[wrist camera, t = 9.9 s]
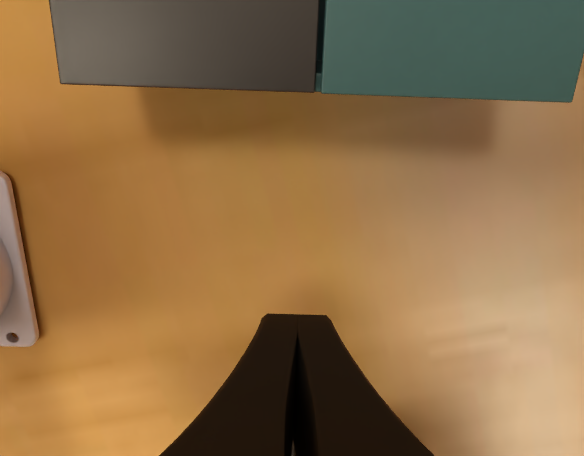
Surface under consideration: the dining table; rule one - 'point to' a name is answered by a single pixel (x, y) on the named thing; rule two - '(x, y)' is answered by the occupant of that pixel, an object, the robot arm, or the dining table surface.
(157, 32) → the lid
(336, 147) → the dining table surface
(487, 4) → the storage box
